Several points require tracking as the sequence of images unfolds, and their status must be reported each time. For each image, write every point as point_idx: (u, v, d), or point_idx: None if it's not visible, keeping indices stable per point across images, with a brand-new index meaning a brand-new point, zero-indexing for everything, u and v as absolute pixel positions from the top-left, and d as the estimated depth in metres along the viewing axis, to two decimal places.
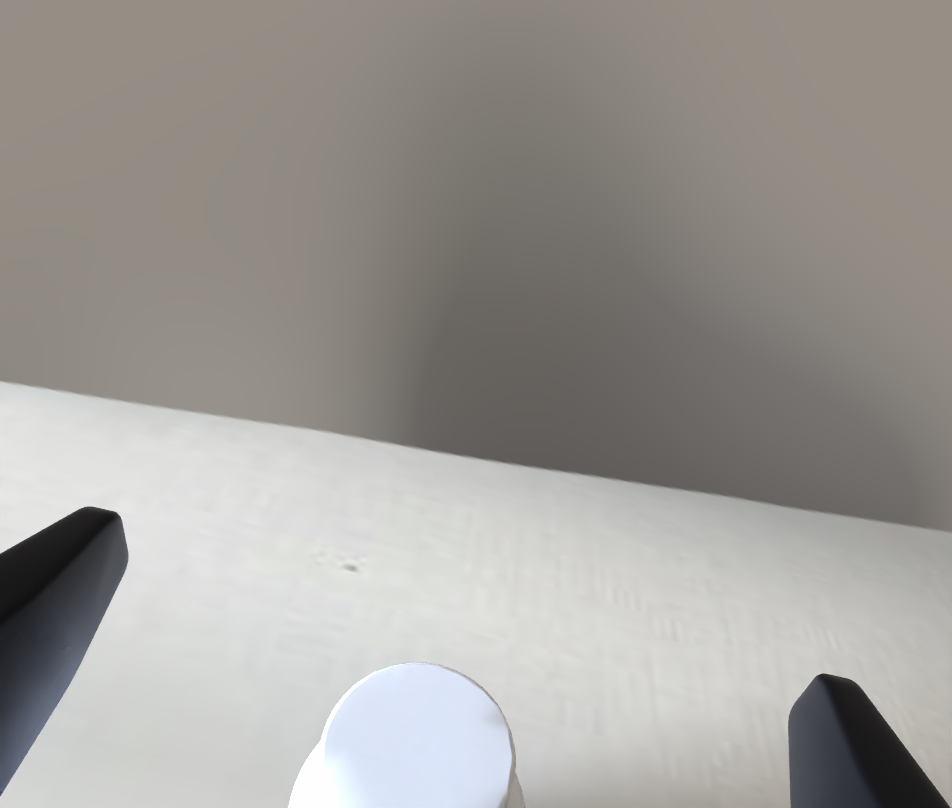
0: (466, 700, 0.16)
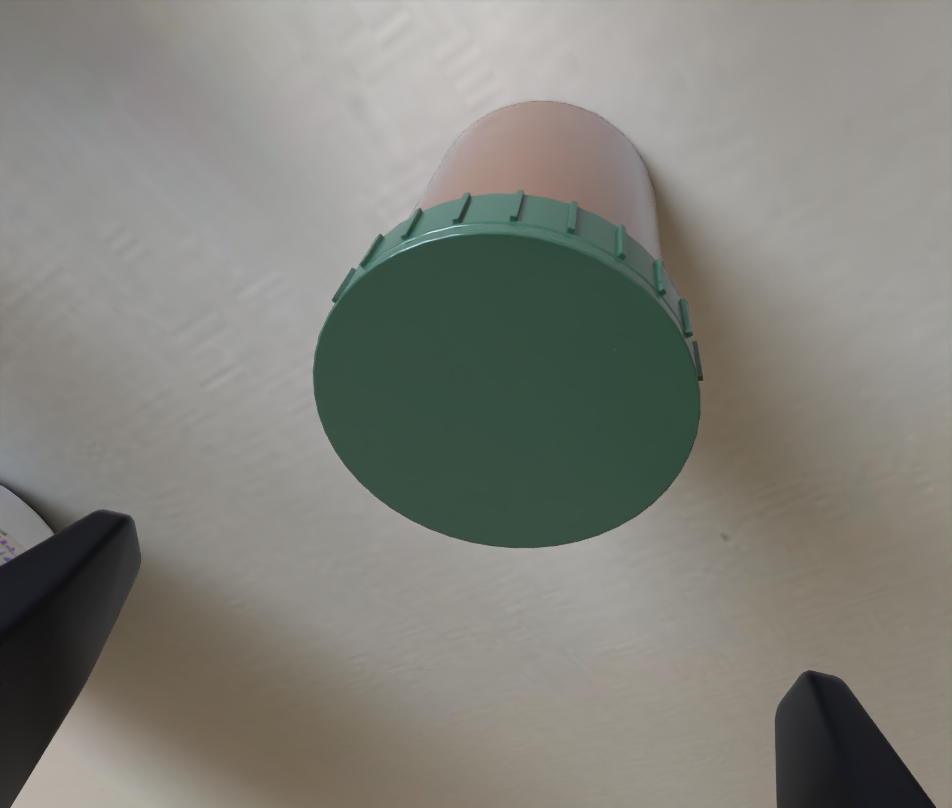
0: None
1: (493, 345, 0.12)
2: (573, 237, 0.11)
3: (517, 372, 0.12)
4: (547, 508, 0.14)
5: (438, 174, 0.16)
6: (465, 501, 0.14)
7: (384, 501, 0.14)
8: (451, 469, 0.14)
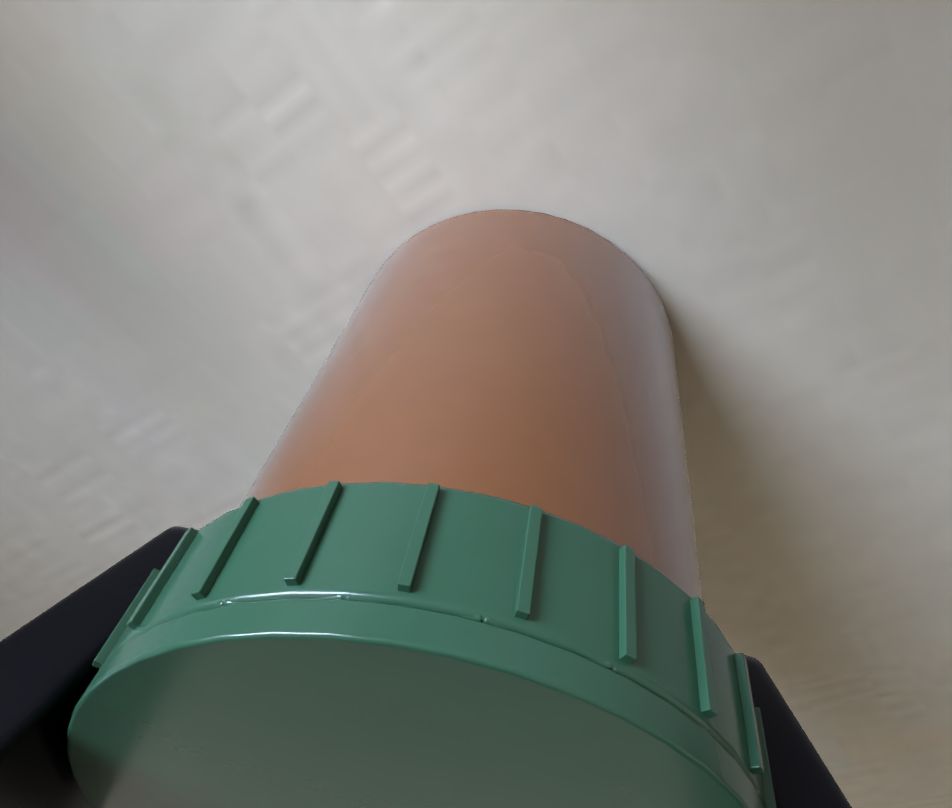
0: None
1: (381, 780, 0.06)
2: (527, 632, 0.05)
3: None
4: None
5: (345, 337, 0.11)
6: None
7: None
8: None
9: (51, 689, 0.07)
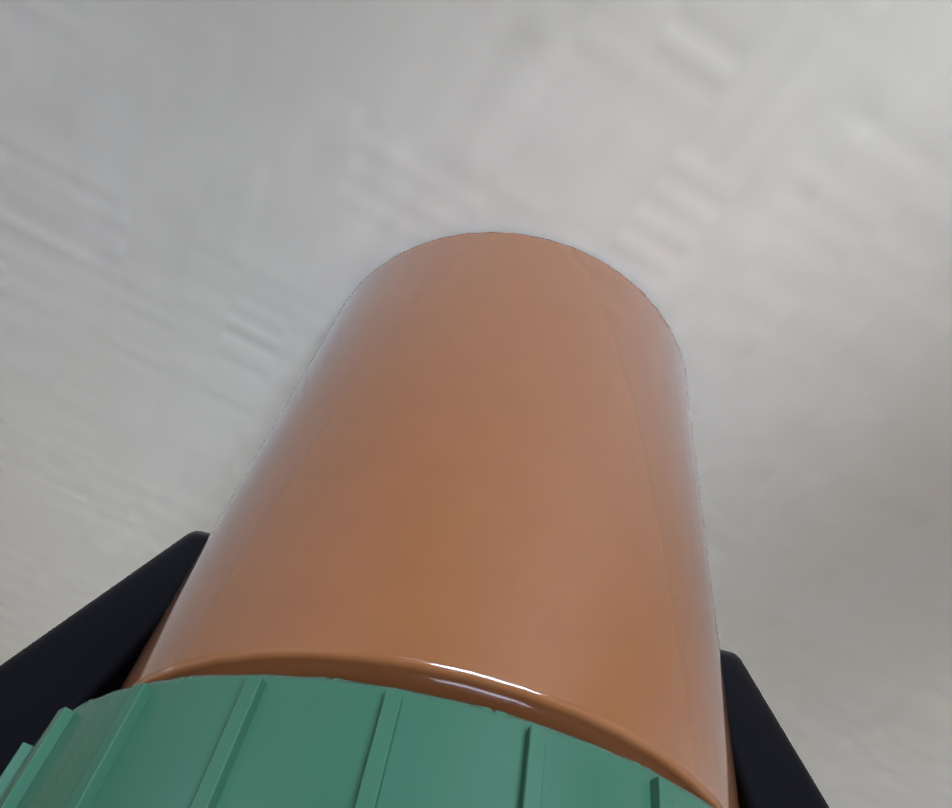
0: None
1: None
2: None
3: None
4: None
5: (551, 361, 0.08)
6: None
7: None
8: None
9: (78, 695, 0.07)
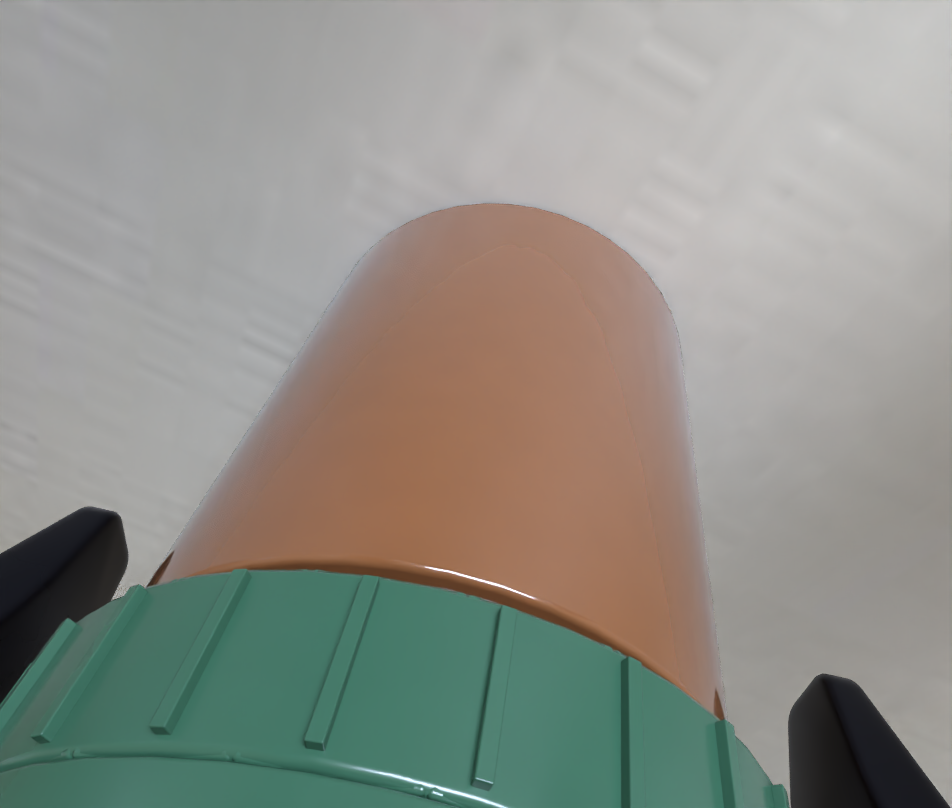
0: None
1: None
2: None
3: None
4: None
5: (536, 311, 0.08)
6: None
7: None
8: None
9: None
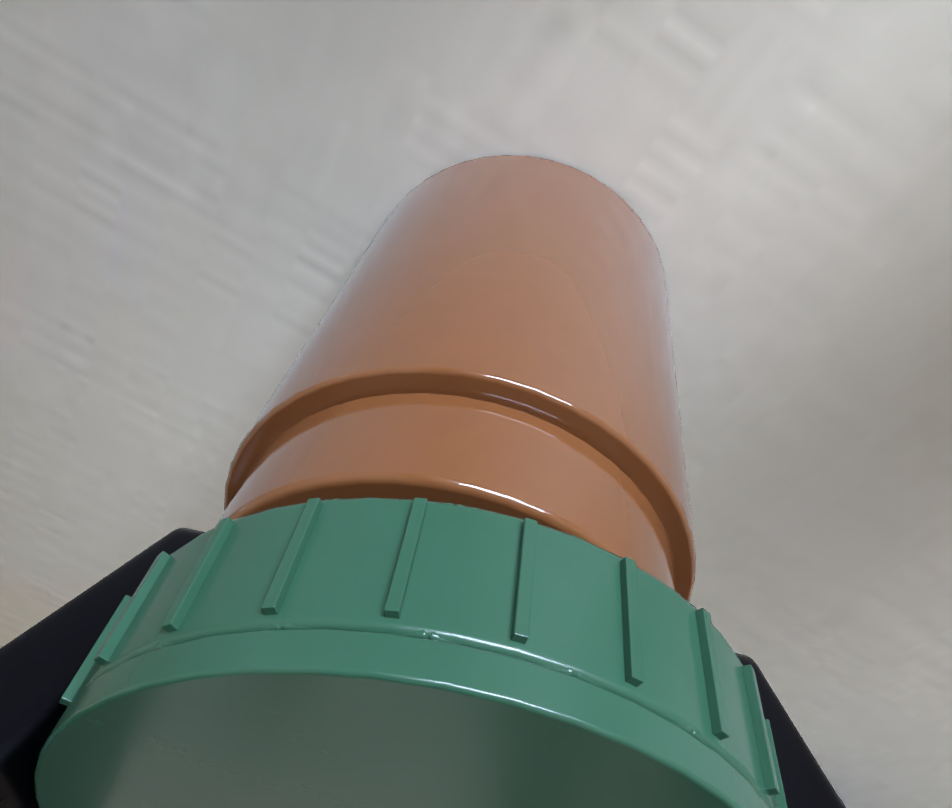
0: None
1: None
2: (103, 671, 0.06)
3: None
4: None
5: (552, 231, 0.11)
6: None
7: None
8: None
9: (59, 691, 0.07)
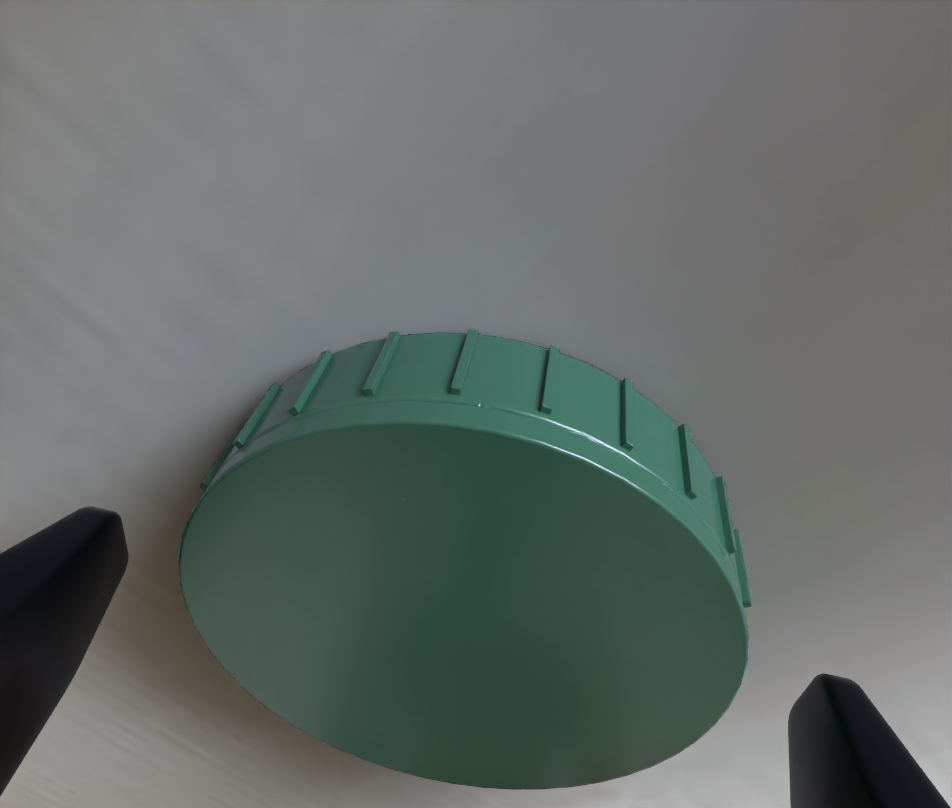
0: None
1: (341, 600, 0.09)
2: (241, 449, 0.08)
3: (392, 601, 0.08)
4: (646, 682, 0.09)
5: None
6: (574, 737, 0.09)
7: (524, 788, 0.10)
8: (512, 721, 0.09)
9: None
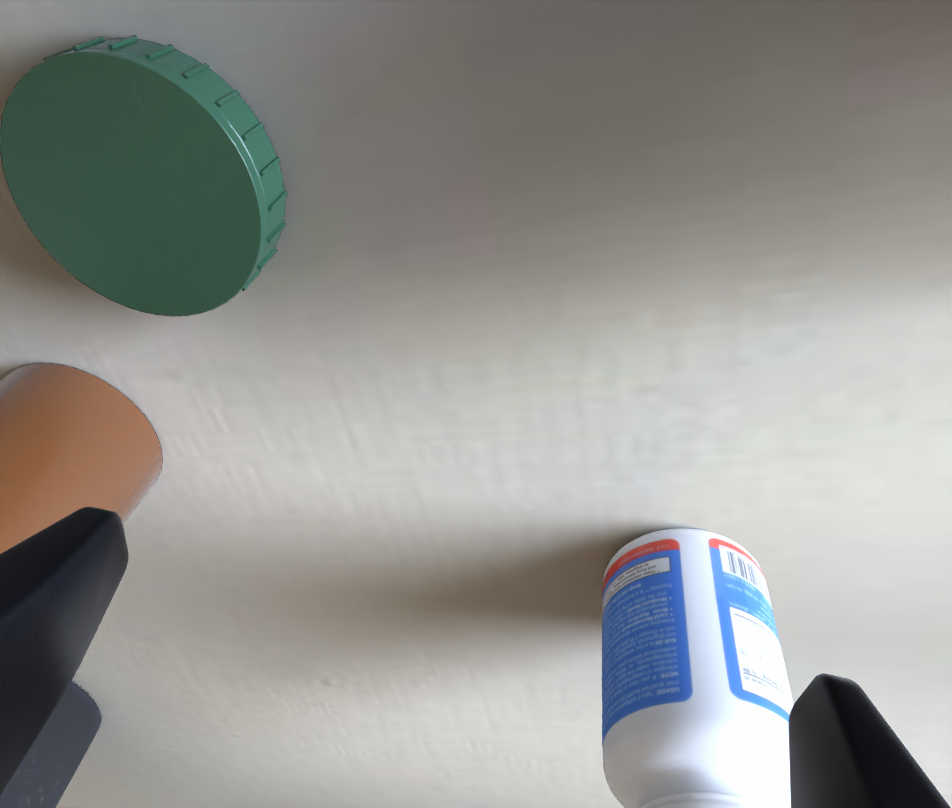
0: None
1: (88, 149, 0.18)
2: (76, 50, 0.17)
3: (114, 160, 0.18)
4: (213, 257, 0.19)
5: (92, 471, 0.22)
6: (170, 280, 0.20)
7: (133, 307, 0.20)
8: (144, 258, 0.19)
9: None
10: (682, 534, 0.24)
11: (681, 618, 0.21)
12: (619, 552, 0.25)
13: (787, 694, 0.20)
